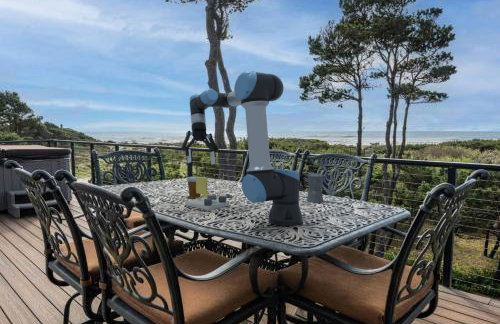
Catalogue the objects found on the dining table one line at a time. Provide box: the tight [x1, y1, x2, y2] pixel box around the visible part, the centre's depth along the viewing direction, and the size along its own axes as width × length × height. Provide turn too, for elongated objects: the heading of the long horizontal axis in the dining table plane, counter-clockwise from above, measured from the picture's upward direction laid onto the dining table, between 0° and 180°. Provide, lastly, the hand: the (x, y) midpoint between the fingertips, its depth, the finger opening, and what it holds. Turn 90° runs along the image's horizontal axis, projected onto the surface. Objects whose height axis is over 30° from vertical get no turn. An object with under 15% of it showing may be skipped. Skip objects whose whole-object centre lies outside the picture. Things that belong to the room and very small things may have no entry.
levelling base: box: [184, 195, 230, 211], centre depth 191 cm, size 18×15×5 cm
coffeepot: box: [299, 169, 328, 204], centre depth 203 cm, size 15×9×18 cm, turn 79°
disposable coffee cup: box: [186, 176, 202, 199], centre depth 214 cm, size 10×10×12 cm
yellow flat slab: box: [195, 176, 218, 200], centre depth 195 cm, size 14×5×12 cm, turn 50°
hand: (201, 163), depth 180 cm, fingers open, 13 cm apart
